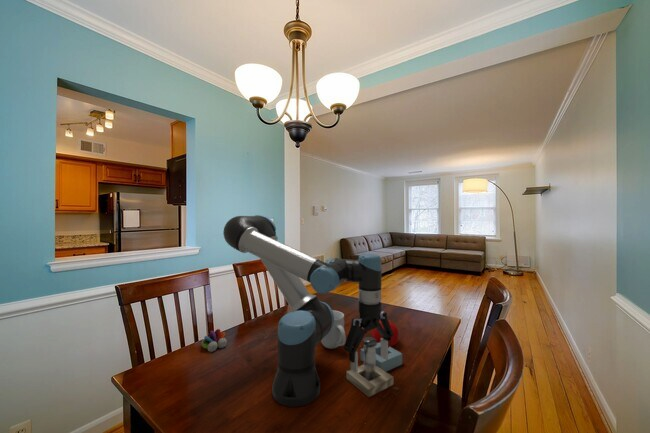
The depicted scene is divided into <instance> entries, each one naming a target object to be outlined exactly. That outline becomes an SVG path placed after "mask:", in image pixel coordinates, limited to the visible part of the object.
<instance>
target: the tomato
mask: <svg viewBox="0 0 650 433" xmlns="http://www.w3.org/2000/svg"><path fill="white" fill-rule="evenodd" d="M388 322H389V324H390V327H391V329H392V332H393V337H391V338H392V339H391V341H389V347H391V348H393V346H394V345H396V344H397V343H398V341H399V331H398V330H399V329H398V327H397V326H396V324H394V322H393V321H391V320H389V319H388ZM379 323H380V324H381V325H382V322H381V320H379ZM382 327H383V325H382ZM383 329H384V327H383ZM370 331H371V337H372V338H375V339H376V340H377V343H379V342H381V338H383V337H382V336H381V334H380V333H379V332H378V330H377V329H376V328H375V329H371V330H370Z"/></svg>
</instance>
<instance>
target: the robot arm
mask: <svg viewBox="0 0 650 433" xmlns="http://www.w3.org/2000/svg"><path fill="white" fill-rule="evenodd" d="M276 231H277V227H276V225H275V222H274V221H273V220H272V219H271V218H269V217H268V216H264V215H259V214H258V215H257V214H256V215H237V216H234V217H232V218H230V219H229V220H228V221H227V222H226V224H225V225H224V227H223V238H224V240H225V243H227V244H228V246H230V247H231V248H233V249H235V250H236V251H238V252H240V253H242V254H246V253H249V254H251V255H253V256H255V257H257V258H259V259H260V261H261V263H262V264H263V265H264V268H265V269H266V270H267V272H268V274H269V275H270V276H271V278H272V280H273V281H274V283H275V285H276V286H277V289H279V291H280V293H281V294H282V296H283V297H284V299H285V300H286V302H287V304H288V305H289V307H290V312H287V313H286V314H284V315H283V316H282V317H281V318H280V320H279V322H278V327H277V344H278V345H277V368H276V371H275V376H274V377H273V378H274V379H273V381H272V390H271V391H272V392H271V393H272V397H273V399H274V400H275V401H276V402H277V403H278V404H280V405H283V406H286V407H290V408H291V407H292V408H297V407H302V406H306V405H309V404H311V403H313V402H314V401H315V400H317V398H318V397H319V396H320V392H321V381H320V377H319V374H318V371H317V367H316V357H315V356H316V347H317V346H318V344H320V342H321V340H322V339H323V338H324V337H325V336H326V335H327V334H328V333H329V332H330V330H331V328H332V326H333V323H334V314H333V311H332V310H333V309H332V308H331V306H330V305H329V304H328V303H327V302H323V301H321V300H320V299H319V298H318V296H317V295H316V294H311V293H310V291H309V290H308V289H307V287H306V285H305V284H304V282H303V280H304V281H305V282H308V283H310V286H311V287H312V289H313V290H314V291H315V292H317V293H318V294H322V295H325V294H328V293H330V292H333V291H334V290H336V289H337V287H339V286H341V285H342V284H343V283H344V282H350V283H358V313H359V318H355V317H354V318H353V317H352V319H351V324H350V329H349V332H348V334H347V336H346V337H347V338H346V342H345V344H344V345H343V350H345V351H346V352H348V360H349V361H350V370H352V371H354V372H355V373H358V367H359V363H358V361H359V355H358V354H359V352H358V351H357V350H358V348H359V346H360V344H361V342H362V341H363V338H365V335H366V334H367V333H368V332H369V331H371V329H375V328H376V329H377V330H378V332H379V333H380V334H381V336H382V337H383V338H381V357H382V358H383V359H385V360H388V348H389V341H391V339H392V338H391V337H393V332H392V329H391V327H390V324H389V322H388V320H389V319H388V314H387V312H385V311H382V302H381V301H382V270H383V268H382V259H381V256H380V255H377V254H374V253H373V254H372V253H363V254H360V255H359V256H358V259H347V258H345V259H344V258H337V257H335V258H333V257H332V258H327V259H326V260H325V262H324V261H322V260H319V259H318V258H317V257H316V258H315V257H314V256H311V255H309V254H308V253H305V252H303V251H300V250H298V249H296V248H294V247H292V246H289V245H287V244H285V243H283V242H280V241H278V239H279V238H278V236H277V232H276ZM379 320H381V322H382V325H383V327H384V329H383V327H382V325H381V324H380V323H379Z"/></svg>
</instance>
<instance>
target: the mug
mask: <svg viewBox="0 0 650 433" xmlns="http://www.w3.org/2000/svg"><path fill="white" fill-rule="evenodd" d="M332 311H333V314H334V323H333V326H332V328H331V330H330V332H329V333H328V334H327V335H326V336H325V337H324V338H323V339H322V340H321V341H320V342H321V344H322V346H323V347H324V348H326V349H332V350H333V349H337V348H339V347H342V346H343V347H344V345H345V342H346V339H347V338H346V337H347V336H346V331H345V313H343V312H341V311H339V310H333V309H332Z"/></svg>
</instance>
